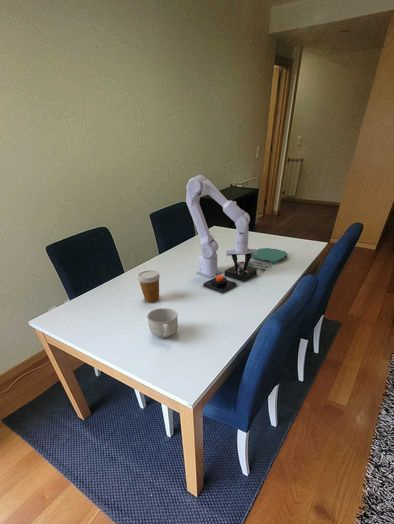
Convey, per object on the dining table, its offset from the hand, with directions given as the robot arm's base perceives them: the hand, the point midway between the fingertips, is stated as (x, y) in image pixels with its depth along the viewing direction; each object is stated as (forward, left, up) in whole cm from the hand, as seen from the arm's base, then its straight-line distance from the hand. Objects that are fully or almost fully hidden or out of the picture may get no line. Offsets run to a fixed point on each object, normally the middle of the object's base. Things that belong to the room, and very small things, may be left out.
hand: (240, 269), depth 145 cm
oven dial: (0, 0, 0) cm, 0 cm away
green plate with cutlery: (-2, +24, -3) cm, 24 cm away
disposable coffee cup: (-15, -45, -3) cm, 48 cm away
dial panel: (0, 0, -3) cm, 3 cm away
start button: (0, -16, 0) cm, 16 cm away
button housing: (0, -16, -3) cm, 16 cm away
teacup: (+11, -60, -3) cm, 61 cm away
